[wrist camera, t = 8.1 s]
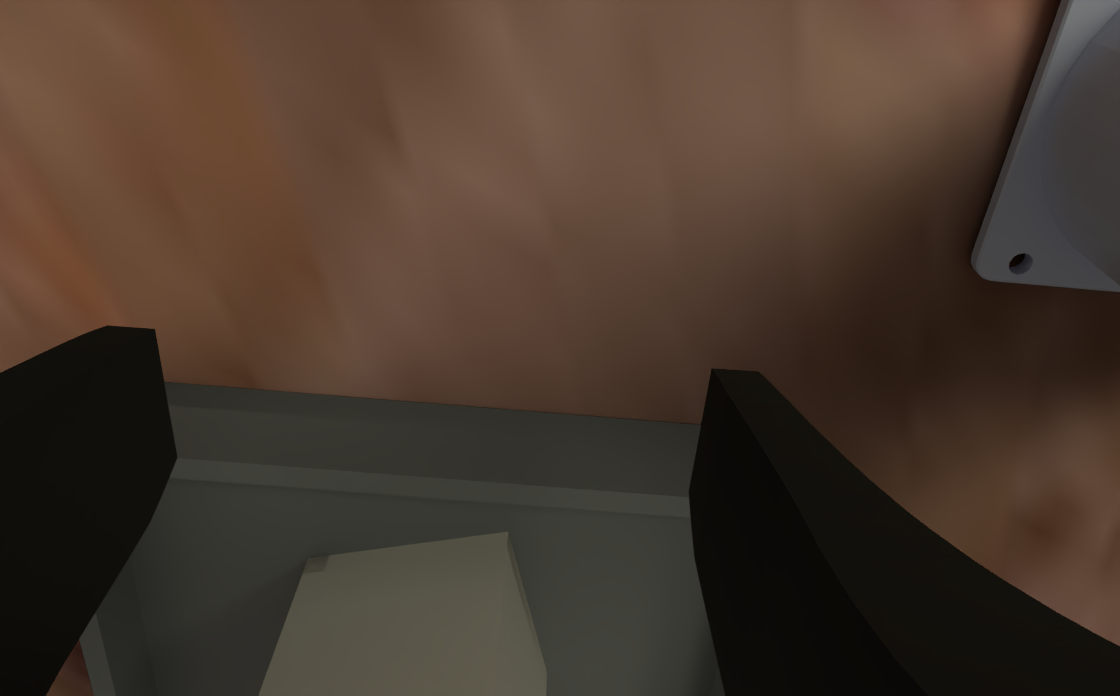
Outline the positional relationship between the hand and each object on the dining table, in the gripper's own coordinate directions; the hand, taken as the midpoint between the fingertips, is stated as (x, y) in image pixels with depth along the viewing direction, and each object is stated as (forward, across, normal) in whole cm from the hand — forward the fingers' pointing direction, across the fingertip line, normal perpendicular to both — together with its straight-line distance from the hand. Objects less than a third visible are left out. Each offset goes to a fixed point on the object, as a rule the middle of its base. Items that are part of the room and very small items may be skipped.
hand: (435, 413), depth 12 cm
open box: (+8, +1, +13) cm, 15 cm away
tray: (+9, +1, +14) cm, 17 cm away
